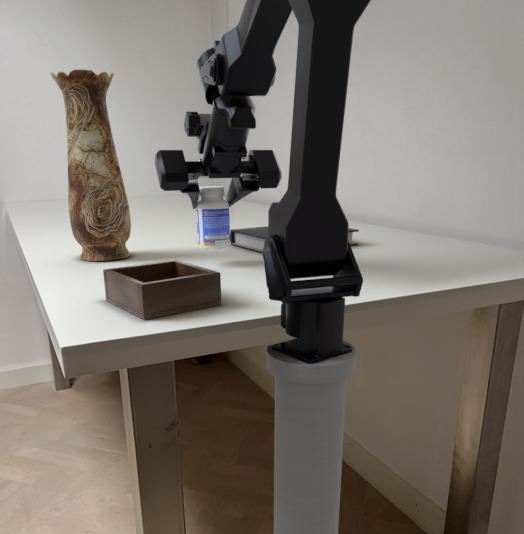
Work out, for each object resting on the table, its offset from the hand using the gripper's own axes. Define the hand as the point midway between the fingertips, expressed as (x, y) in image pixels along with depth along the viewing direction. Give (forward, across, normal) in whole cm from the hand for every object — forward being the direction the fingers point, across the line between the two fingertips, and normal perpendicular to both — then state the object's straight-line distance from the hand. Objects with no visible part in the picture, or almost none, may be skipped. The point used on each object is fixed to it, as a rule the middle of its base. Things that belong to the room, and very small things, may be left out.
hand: (210, 206), depth 91 cm
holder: (-10, +13, +23) cm, 28 cm away
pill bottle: (+4, 0, +6) cm, 7 cm away
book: (+16, -21, -2) cm, 26 cm away
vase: (+15, +17, -2) cm, 23 cm away
